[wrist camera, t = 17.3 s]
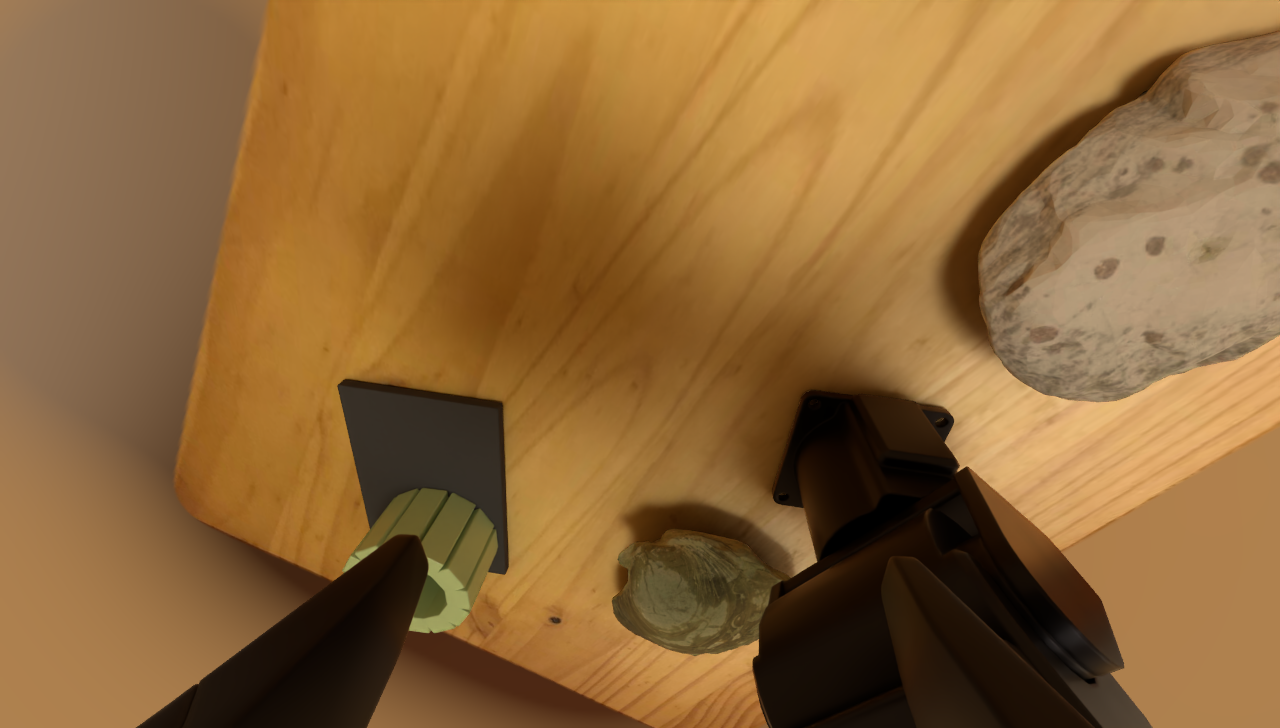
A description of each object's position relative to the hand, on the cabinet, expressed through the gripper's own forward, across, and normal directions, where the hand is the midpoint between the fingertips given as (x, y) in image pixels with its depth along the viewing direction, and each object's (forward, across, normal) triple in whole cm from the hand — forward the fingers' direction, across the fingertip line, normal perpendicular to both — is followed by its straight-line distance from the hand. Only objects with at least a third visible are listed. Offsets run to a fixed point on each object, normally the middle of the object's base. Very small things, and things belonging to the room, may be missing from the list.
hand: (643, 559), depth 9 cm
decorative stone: (+13, -16, -3) cm, 21 cm away
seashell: (+13, -1, +17) cm, 21 cm away
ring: (+12, +13, +14) cm, 23 cm away
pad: (+13, +13, +10) cm, 21 cm away
